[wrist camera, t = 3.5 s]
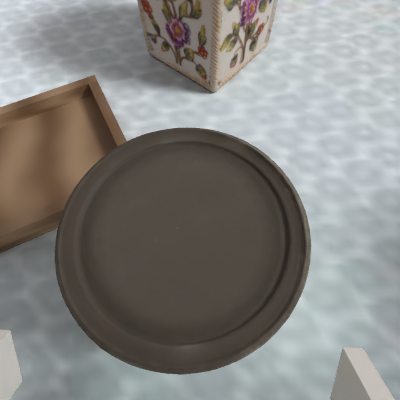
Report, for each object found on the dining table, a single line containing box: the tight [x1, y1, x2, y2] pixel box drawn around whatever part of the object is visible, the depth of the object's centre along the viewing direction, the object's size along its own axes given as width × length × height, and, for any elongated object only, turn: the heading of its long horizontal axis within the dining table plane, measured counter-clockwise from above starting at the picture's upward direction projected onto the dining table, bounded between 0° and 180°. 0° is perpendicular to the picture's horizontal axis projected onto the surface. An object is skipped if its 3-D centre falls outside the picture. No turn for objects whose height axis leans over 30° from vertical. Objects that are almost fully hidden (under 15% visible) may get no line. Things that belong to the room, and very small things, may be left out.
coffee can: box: [55, 128, 311, 374], centre depth 18 cm, size 10×10×14 cm
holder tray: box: [0, 75, 127, 253], centre depth 29 cm, size 15×15×2 cm
